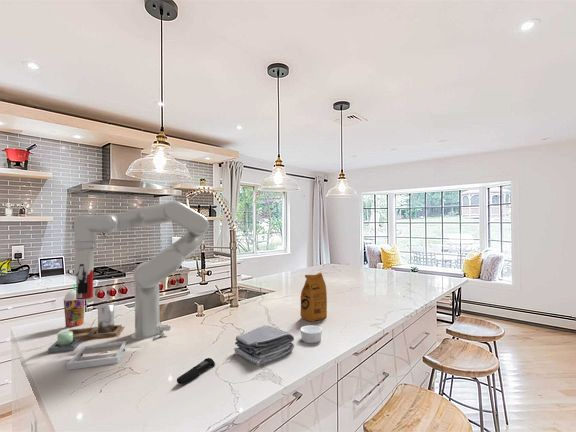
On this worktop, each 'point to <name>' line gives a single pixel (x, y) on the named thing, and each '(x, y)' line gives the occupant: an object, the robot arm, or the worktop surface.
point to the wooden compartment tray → (96, 333)
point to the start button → (65, 338)
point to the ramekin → (311, 334)
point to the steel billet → (106, 318)
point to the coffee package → (314, 298)
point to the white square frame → (96, 362)
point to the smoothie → (73, 309)
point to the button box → (72, 347)
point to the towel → (264, 344)
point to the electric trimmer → (195, 371)
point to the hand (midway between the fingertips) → (84, 291)
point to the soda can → (90, 287)
